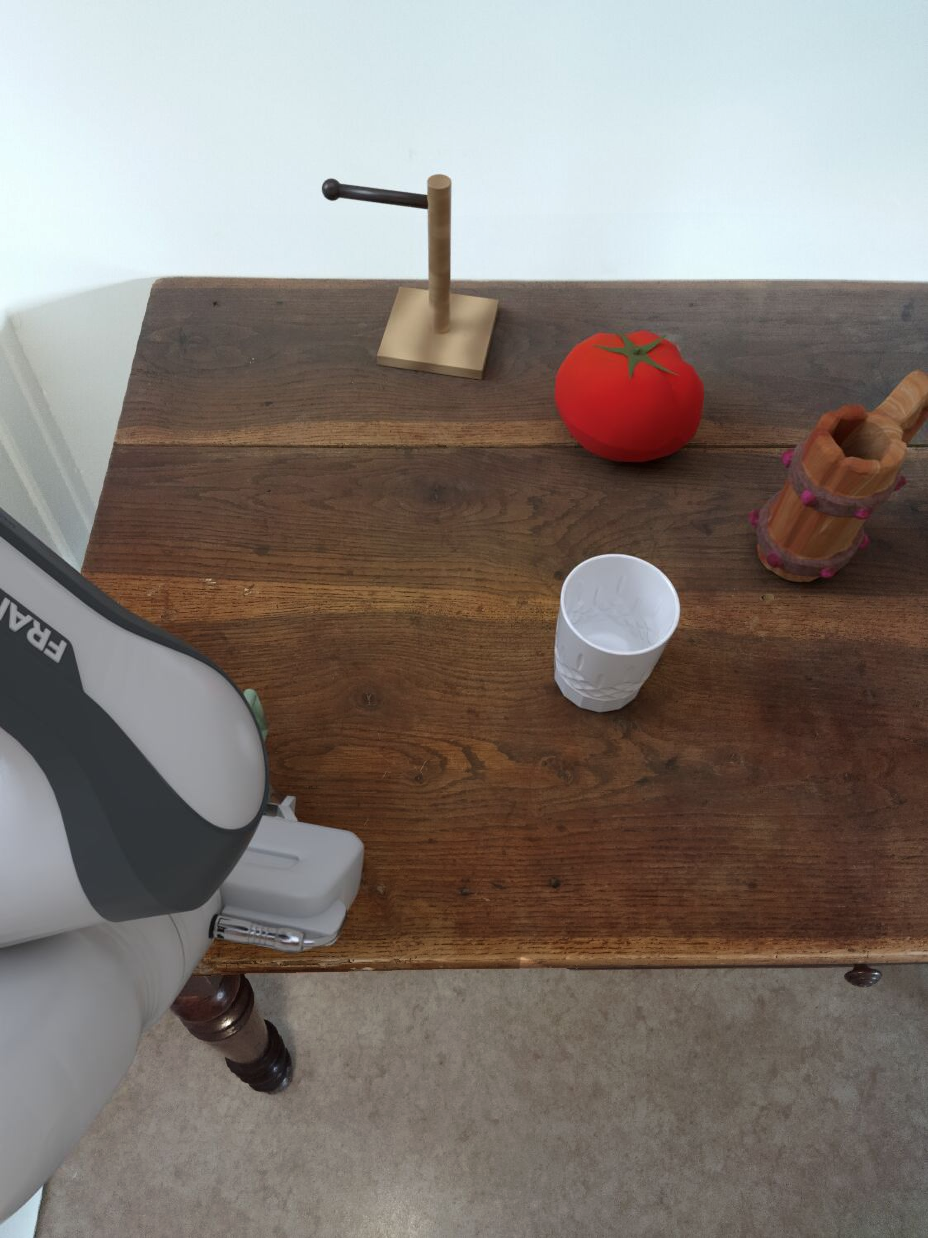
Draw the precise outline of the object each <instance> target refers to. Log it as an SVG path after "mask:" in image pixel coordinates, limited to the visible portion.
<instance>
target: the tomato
mask: <svg viewBox="0 0 928 1238" xmlns="http://www.w3.org/2000/svg"><path fill="white" fill-rule="evenodd" d="M612 329H613V331H614V332H615V333H616V334H614V333H605V332H597V333H595V334H593V335H591V336H590V337H588V338H587V339H585V340H583V341H581V342H579V343H578V344H576V345H575V346H574V347H573V348H572V349H571V351H570V352H569V353H568V354H567V355H566V357H565V359H564V360H563V362H562V363H561V365H560V367H559V369H558V371H557V372H556V377H555V385H554V402H555V405H556V409H557V412H558V414H559V417H560V418H561V421H563V423H564V425H565V426H566V429H567V430H568V432H569V435H570V436H571V437H572V438H573V439H574V440H575V441H577V442H578V444H579V445H580V446H581V447H583V448H584V449H585V451H587V452H589V453H591V454H593V455H594V456H596V457H598V458H601V459H606V460H610V461H614V462H619V463H621V462H623V463H645V462H649V461H654V460H656V459H657V460H658V459H661V458H664V457H668V456H670V455H672V454H674V453H676V452H678V451H680V450H681V449H682V448H683V447H684V446H685V445H687V443H689V441H691V440H692V439H693V438H694V437H695V436H696V433H697V431H698V429H699V427H700V426H701V425H700V424H701V420H702V418H703V417H702V416H703V410H704V401H705V387H704V386H705V385H704V384H705V383H704V382H703V380H702V379H701V377H700V376H699V374H698V373H697V372H696V370H695V368H694V367H693V365H691V364H689V363H688V362H686V361H685V360H684V359H683V357H682V355H681V353H680V351H679V348H678V346H677V345H676V344H675V343H673V342H672V341H669V340H668V339H666V336H667V334H665V335H659V334H656V333H653V332H650V331H648V330H644V329H642V330H638V331H635V332H631V333H626V334H624V333H621V332H620V331H618V330H616V329H615V328H614V327H612Z"/></svg>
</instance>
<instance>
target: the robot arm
mask: <svg viewBox="0 0 928 1238" xmlns="http://www.w3.org/2000/svg"><path fill="white" fill-rule="evenodd" d="M270 771H271V770H270V761H269V757H268V751H267V746H266V741H265V742H264V738H263V735H262V732H261V729H260V726H259V724H258V721H257V719H256V717H255V714H254V712H253V710H252V708H251V706H250V704H249V703H248V701H247V699H246V698H245V696H244V694H243V691H242V690H241V688H240V687H239V686H238V685H237V683H236V682H235V681H234V680H233V678H231V676H229V674H228V673H227V672H225V670H224V669H222V668H221V666H219V665H218V664H217V663H216V662H214V661H213V660H212V659H211V658H210V657H208V656H207V655H206V654H204V653H203V652H202V651H200V650H198V648H196V647H194V646H193V645H191V644H189V643H188V642H186V641H184V640H183V639H182V638H180V637H178V636H176V635H174V634H172V633H171V632H169V631H167V630H165V629H163V628H162V627H160V626H158V625H156V624H154V623H152V622H151V621H148V620H147V619H145V618H143V617H141V616H139V615H138V614H136V613H135V612H133V611H131V610H130V609H128V608H127V607H125V606H124V605H122V604H121V603H120V602H118V601H116V600H115V599H114V598H112V597H111V596H109V595H108V594H107V593H106V592H105V591H103V590H102V589H101V588H99V587H98V586H96V584H94V583H93V582H92V581H91V580H89V579H88V578H87V577H85V576H84V575H83V574H82V573H81V572H79V570H77V568H75V567H73V566H72V565H71V564H70V563H69V562H67V560H65V559H63V557H61V556H60V555H59V554H58V553H56V552H55V551H54V550H53V549H52V548H50V547H49V546H48V545H47V544H45V543H44V542H43V541H42V540H41V539H39V537H37V536H36V535H35V534H33V533H32V532H31V531H30V530H29V529H28V528H26V527H25V526H24V525H23V524H21V523H20V522H19V521H18V520H17V519H15V518H14V517H13V516H12V515H10V514H9V513H8V512H7V511H5V510H4V509H3V508H2V507H1V506H0V1226H1V1225H3V1224H4V1223H6V1222H7V1220H9V1219H10V1218H11V1217H13V1215H15V1214H16V1213H17V1212H18V1211H20V1209H22V1207H23V1206H24V1205H26V1204H27V1203H28V1202H29V1201H30V1200H31V1199H32V1198H33V1197H34V1196H35V1195H36V1194H37V1193H38V1192H39V1191H40V1190H41V1188H42V1187H43V1186H45V1184H47V1182H48V1181H49V1180H50V1178H51V1177H52V1176H53V1175H54V1174H55V1173H56V1172H57V1170H59V1168H60V1167H61V1165H63V1163H64V1162H65V1161H66V1160H67V1158H68V1157H69V1155H70V1154H72V1152H73V1151H74V1149H75V1148H76V1147H77V1145H78V1144H79V1143H80V1141H81V1140H82V1139H83V1138H84V1136H85V1135H86V1134H87V1132H88V1131H89V1129H90V1128H91V1127H92V1126H93V1124H94V1123H95V1121H96V1120H97V1118H98V1117H99V1116H100V1114H101V1113H102V1111H103V1110H104V1109H105V1107H106V1105H107V1104H108V1102H109V1101H110V1099H111V1098H112V1096H113V1095H114V1094H115V1092H116V1091H117V1089H118V1088H119V1087H120V1084H121V1083H122V1081H123V1080H124V1079H125V1077H126V1075H127V1074H128V1072H129V1070H130V1068H131V1067H132V1064H133V1062H134V1060H135V1057H136V1054H137V1052H138V1050H139V1047H140V1043H141V1038H142V1035H143V1034H144V1033H146V1032H147V1031H148V1030H149V1029H151V1028H152V1027H153V1026H154V1025H156V1024H157V1023H158V1022H159V1021H160V1020H161V1019H162V1018H163V1017H164V1015H165V1014H166V1013H167V1012H168V1011H169V1010H170V1008H171V1007H172V1005H173V1004H174V1002H175V1001H176V1000H177V997H178V996H180V993H182V990H183V988H185V986H186V984H187V982H188V981H189V980H190V978H191V976H192V975H193V974H194V972H195V970H196V969H197V968H198V965H199V964H200V962H201V961H202V960H203V958H204V957H205V955H206V954H207V952H208V951H209V949H210V947H211V946H212V944H213V943H214V941H215V939H218V940H223V941H228V942H231V943H232V942H233V943H238V944H242V945H243V944H244V945H253V946H258V947H263V948H268V949H272V950H275V951H278V952H279V951H280V952H284V953H292V954H294V953H295V954H296V953H297V954H298V953H302V952H304V951H306V950H307V951H308V950H310V949H313V948H318V947H323V946H326V947H328V946H332V945H333V944H335V943H336V941H337V940H338V939H339V937H340V935H341V934H342V932H343V929H344V927H345V925H346V922H347V920H348V915H349V914H348V911H349V910H350V908H351V906H352V905H353V903H354V901H355V900H356V898H357V896H358V893H359V890H360V886H361V880H362V873H363V868H364V867H363V866H364V858H365V845H364V842H363V841H362V840H361V839H360V838H359V837H358V835H357V834H356V833H354V832H353V831H350V830H346V829H342V828H341V829H340V828H335V827H329V826H325V825H324V826H323V825H319V824H313V823H309V822H303V821H299V820H298V817H296V814H295V813H296V802H297V798H296V796H293V795H288V794H283V793H276V792H275V793H272V794H271V797H270V798H269V799H268V796H269V788H270V783H271V774H270ZM264 811H265V814H266V816H265V815H263V814H264Z"/></svg>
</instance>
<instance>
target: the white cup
mask: <svg viewBox="0 0 928 1238" xmlns="http://www.w3.org/2000/svg"><path fill="white" fill-rule="evenodd" d="M680 615H681V604H680V599H679V595H678V593H677V590H676V588H675V586H674V584H673V583H672V582H671V581H670V579H669V578H668V576H666V574H665V573H663V571H661V570H660V569H659V568H658V567H656V566H654V565H653V564H652V563H650V562H648V561H646V560H644V559H642V558H640V557H636V556H632V555H627V554H621V553H608V554H601V555H596V556H593V557H590V558H588V559H586V560H583V561H582V562H580V563H579V564H578V565H577V566H575V567H574V568H573V569H572V570H571V572H570V573H569V574H568V575H567V576H566V578H565V580H564V582H563V585H562V587H561V591H560V597H559V605H558V612H557V621H556V628H555V638H554V639H555V640H554V651H553V652H554V659H553V671H554V672H553V674H554V676H553V677H554V681H555V682H556V684H557V686H558V688H559V690H560V691H561V693H562V695H563V696H564V697H565V698H566V699H567V700H569V701H570V702H572V703H573V704H574V705H576V706H577V707H578V708H579V709H580V708H581V709H584V710H588V711H592V712H596V713H604V712H605V713H606V712H610V711H617V710H620V709H622V708H623V707H625V706H626V705H628V704H629V703H630V702H632V701H633V700H634V699H635V698H636V697H637V695H638V693H639V692H640V690H641V688H642V686H643V685H644V683H645V682H646V681H647V680H648V679H649V678H650V675H651V673H652V672H653V670H654V668H655V667H656V665H657V664H658V662H659V660H660V658H661V656H662V655H663V653H664V651H665V649H666V648H667V645H668V643H669V641H670V640H671V638H672V636H673V634H674V633H675V630H676V629H677V626H678V625H679V621H680V617H681V616H680Z"/></svg>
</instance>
